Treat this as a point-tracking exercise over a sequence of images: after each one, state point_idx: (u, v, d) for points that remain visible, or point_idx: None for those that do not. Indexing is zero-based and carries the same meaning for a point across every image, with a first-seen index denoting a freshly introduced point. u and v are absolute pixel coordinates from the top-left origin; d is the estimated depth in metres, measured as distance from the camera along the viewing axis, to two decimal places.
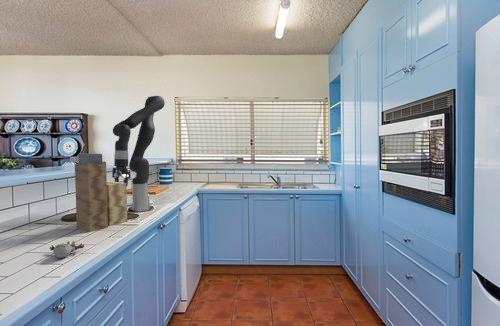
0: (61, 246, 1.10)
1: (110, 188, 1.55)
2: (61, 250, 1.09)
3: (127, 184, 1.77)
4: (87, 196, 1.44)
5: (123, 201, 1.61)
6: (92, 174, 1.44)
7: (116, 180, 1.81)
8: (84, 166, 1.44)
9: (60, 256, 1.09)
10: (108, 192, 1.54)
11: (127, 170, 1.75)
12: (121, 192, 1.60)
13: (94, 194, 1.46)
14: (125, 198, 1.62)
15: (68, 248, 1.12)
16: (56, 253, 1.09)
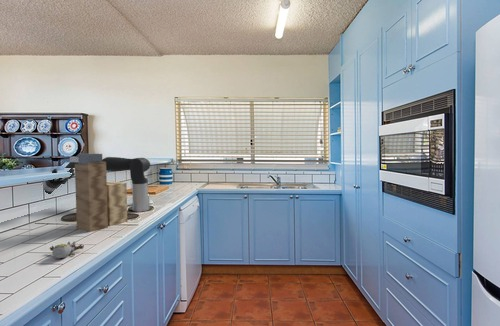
0: (60, 246, 1.09)
1: (110, 188, 1.55)
2: (60, 251, 1.09)
3: None
4: (87, 196, 1.44)
5: (123, 201, 1.61)
6: (92, 174, 1.44)
7: None
8: (84, 166, 1.44)
9: (59, 257, 1.09)
10: (108, 192, 1.54)
11: None
12: (121, 192, 1.60)
13: (94, 194, 1.46)
14: (125, 198, 1.62)
15: (67, 249, 1.11)
16: (55, 253, 1.08)
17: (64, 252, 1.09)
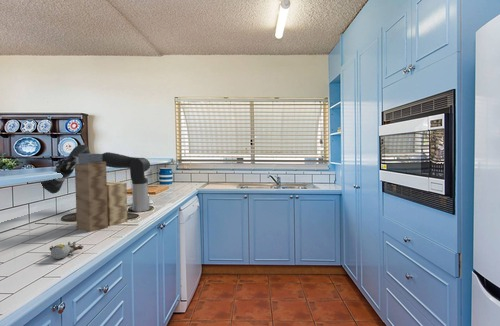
0: (58, 247, 1.09)
1: (110, 188, 1.55)
2: (58, 251, 1.08)
3: None
4: (87, 196, 1.44)
5: (123, 201, 1.61)
6: (92, 174, 1.44)
7: None
8: (84, 166, 1.44)
9: (57, 257, 1.08)
10: (108, 192, 1.54)
11: None
12: (121, 192, 1.60)
13: (94, 194, 1.46)
14: (125, 198, 1.62)
15: (65, 249, 1.10)
16: (53, 254, 1.08)
17: (62, 253, 1.09)
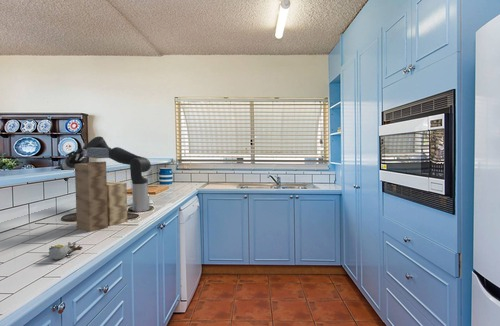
0: (56, 248, 1.08)
1: (110, 188, 1.55)
2: (55, 252, 1.08)
3: None
4: (87, 196, 1.44)
5: (123, 201, 1.61)
6: (92, 174, 1.44)
7: None
8: (84, 166, 1.44)
9: (55, 258, 1.08)
10: (108, 192, 1.54)
11: None
12: (121, 192, 1.60)
13: (94, 194, 1.46)
14: (125, 198, 1.62)
15: (63, 250, 1.10)
16: (51, 254, 1.07)
17: (60, 253, 1.08)
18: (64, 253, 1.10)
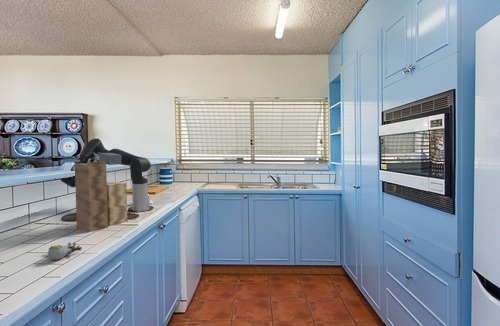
0: (55, 248, 1.08)
1: (110, 188, 1.55)
2: (54, 252, 1.07)
3: None
4: (87, 196, 1.44)
5: (123, 201, 1.61)
6: (92, 174, 1.44)
7: None
8: (84, 166, 1.44)
9: (53, 258, 1.08)
10: (108, 192, 1.54)
11: None
12: (121, 192, 1.60)
13: (94, 194, 1.46)
14: (125, 198, 1.62)
15: (62, 250, 1.09)
16: (49, 255, 1.07)
17: (58, 254, 1.08)
18: (63, 253, 1.10)
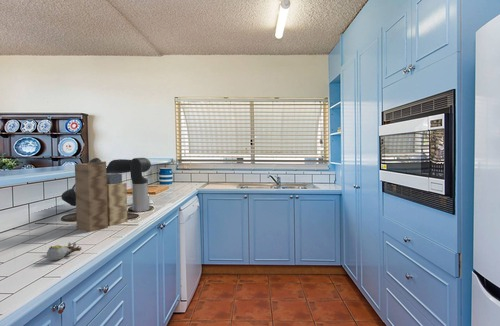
0: (54, 248, 1.08)
1: (110, 188, 1.55)
2: (53, 252, 1.07)
3: None
4: (87, 196, 1.44)
5: (123, 201, 1.61)
6: (92, 174, 1.44)
7: None
8: (84, 166, 1.44)
9: (52, 258, 1.07)
10: (108, 192, 1.54)
11: None
12: (121, 192, 1.60)
13: (94, 194, 1.46)
14: (125, 198, 1.62)
15: (61, 250, 1.09)
16: (48, 255, 1.07)
17: (57, 254, 1.08)
18: (62, 254, 1.09)
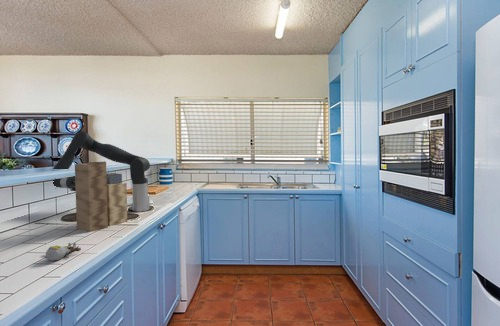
0: (52, 249, 1.07)
1: (110, 188, 1.55)
2: (52, 253, 1.07)
3: None
4: (87, 196, 1.44)
5: (123, 201, 1.61)
6: (92, 174, 1.44)
7: None
8: (84, 166, 1.44)
9: (51, 259, 1.07)
10: (108, 192, 1.54)
11: None
12: (121, 192, 1.60)
13: (94, 194, 1.46)
14: (125, 198, 1.62)
15: (60, 251, 1.09)
16: (47, 255, 1.06)
17: (56, 254, 1.07)
18: (61, 254, 1.09)
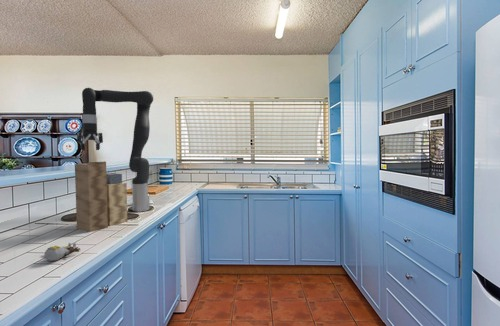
0: (51, 249, 1.07)
1: (110, 188, 1.55)
2: (50, 253, 1.06)
3: None
4: (87, 196, 1.44)
5: (123, 201, 1.61)
6: (92, 174, 1.44)
7: None
8: (84, 166, 1.44)
9: (50, 259, 1.06)
10: (108, 192, 1.54)
11: None
12: (121, 192, 1.60)
13: (94, 194, 1.46)
14: (125, 198, 1.62)
15: (59, 251, 1.08)
16: (46, 256, 1.06)
17: (55, 255, 1.07)
18: (59, 255, 1.08)
